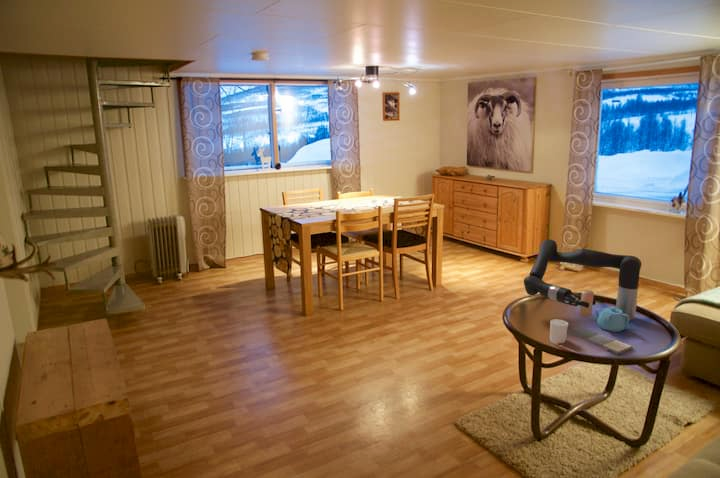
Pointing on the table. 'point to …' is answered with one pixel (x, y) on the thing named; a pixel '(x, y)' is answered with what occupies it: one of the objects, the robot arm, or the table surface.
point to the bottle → (587, 297)
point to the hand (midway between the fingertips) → (591, 304)
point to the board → (600, 340)
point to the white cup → (558, 331)
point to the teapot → (612, 319)
